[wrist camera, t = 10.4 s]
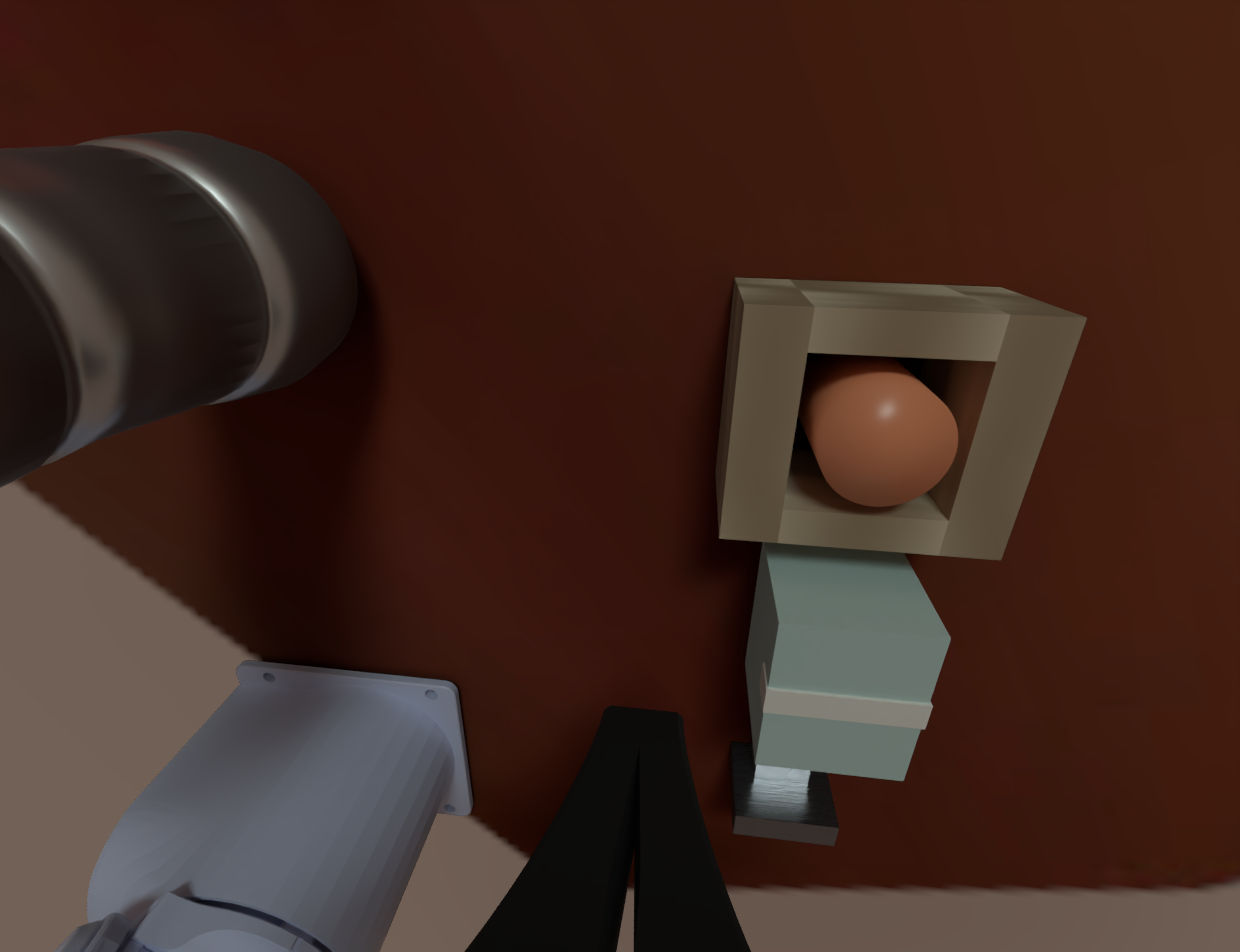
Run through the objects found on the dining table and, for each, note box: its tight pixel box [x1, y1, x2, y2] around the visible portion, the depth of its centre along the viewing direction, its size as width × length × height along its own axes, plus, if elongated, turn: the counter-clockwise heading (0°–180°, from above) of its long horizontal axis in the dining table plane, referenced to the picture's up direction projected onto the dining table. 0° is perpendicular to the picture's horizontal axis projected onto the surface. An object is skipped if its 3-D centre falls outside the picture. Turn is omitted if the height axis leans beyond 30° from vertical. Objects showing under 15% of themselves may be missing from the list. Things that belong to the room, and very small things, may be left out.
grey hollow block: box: [715, 278, 1087, 560], centre depth 16 cm, size 7×6×4 cm
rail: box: [729, 740, 839, 846], centre depth 21 cm, size 4×13×3 cm, turn 179°
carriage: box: [745, 542, 951, 781], centre depth 17 cm, size 4×5×4 cm
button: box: [798, 353, 958, 507], centre depth 16 cm, size 3×3×4 cm
